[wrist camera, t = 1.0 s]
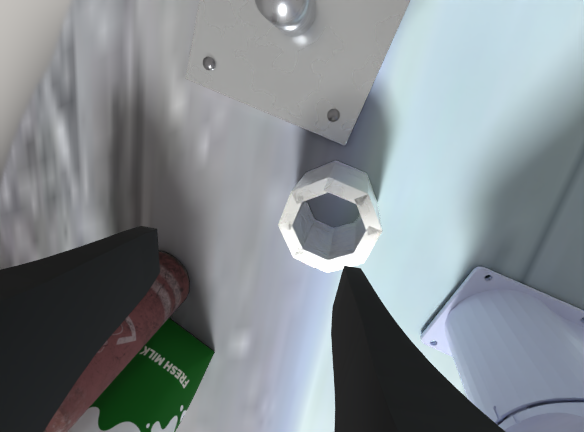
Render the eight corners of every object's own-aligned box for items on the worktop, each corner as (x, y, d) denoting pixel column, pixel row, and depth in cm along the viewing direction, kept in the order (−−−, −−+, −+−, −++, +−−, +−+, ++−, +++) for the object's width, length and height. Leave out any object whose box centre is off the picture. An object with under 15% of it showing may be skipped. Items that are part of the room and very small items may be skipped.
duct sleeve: (388, 182, 20) (396, 206, 15) (350, 253, 22) (347, 291, 18) (314, 151, 20) (301, 165, 16) (285, 224, 23) (266, 254, 18)
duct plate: (445, -78, 15) (472, -138, 11) (345, 144, 20) (341, 154, 16) (232, -155, 15) (193, -235, 12) (189, 79, 20) (151, 74, 17)
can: (125, 248, 28) (-76, 372, 15) (183, 247, 26) (13, 387, 13) (144, 300, 30) (-18, 449, 17) (198, 302, 28) (64, 469, 15)
